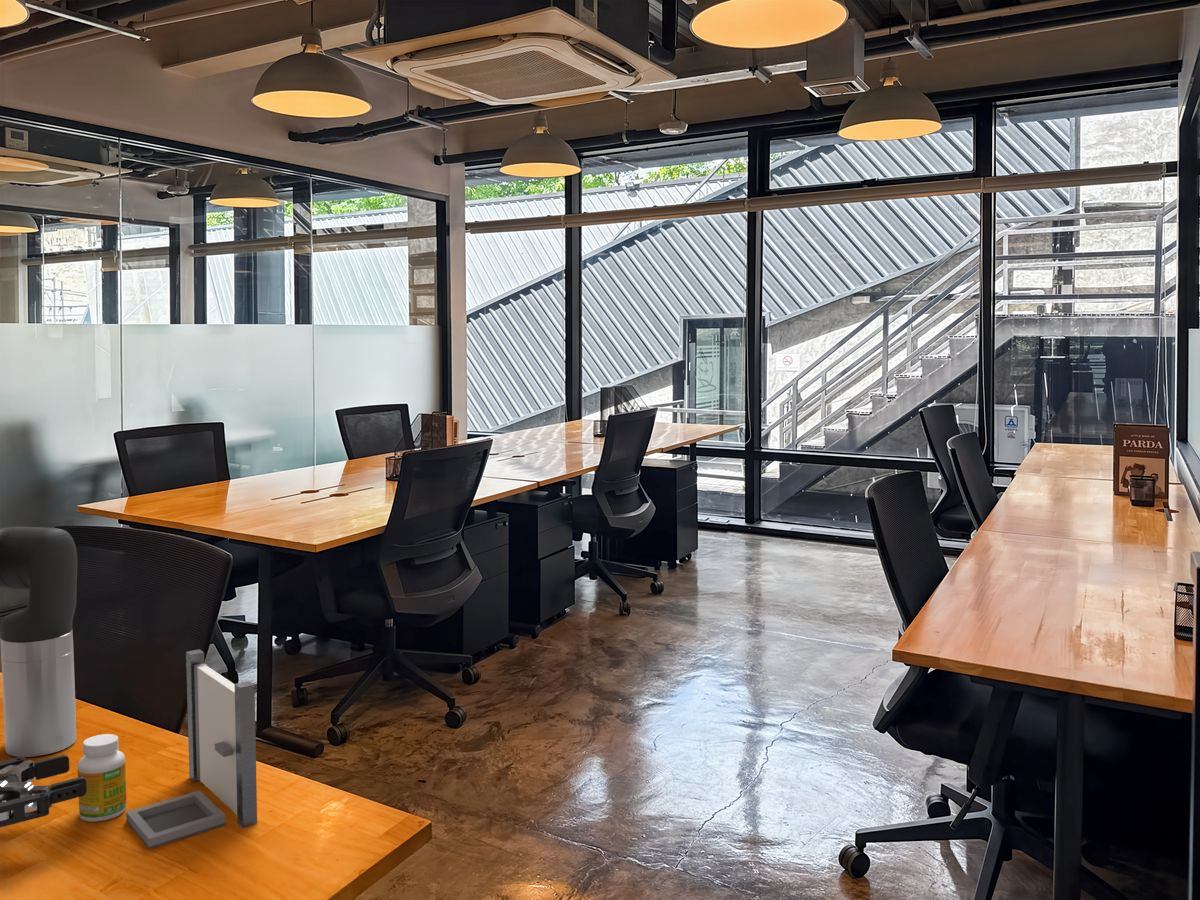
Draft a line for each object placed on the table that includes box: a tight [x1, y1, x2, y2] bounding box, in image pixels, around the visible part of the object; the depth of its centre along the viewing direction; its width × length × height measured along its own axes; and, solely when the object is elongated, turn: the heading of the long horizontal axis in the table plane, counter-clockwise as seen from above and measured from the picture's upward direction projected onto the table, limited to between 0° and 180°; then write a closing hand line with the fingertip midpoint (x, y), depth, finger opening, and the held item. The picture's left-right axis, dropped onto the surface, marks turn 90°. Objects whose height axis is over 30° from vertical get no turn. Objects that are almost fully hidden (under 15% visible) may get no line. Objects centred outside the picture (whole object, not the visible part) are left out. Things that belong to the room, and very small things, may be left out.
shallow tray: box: [125, 790, 226, 850], centre depth 116 cm, size 9×9×1 cm
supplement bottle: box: [77, 733, 127, 823], centre depth 119 cm, size 5×5×10 cm
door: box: [194, 663, 237, 815], centre depth 122 cm, size 15×3×16 cm, turn 43°
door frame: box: [185, 649, 258, 829], centre depth 122 cm, size 19×2×18 cm, turn 43°
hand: (76, 773), depth 117 cm, fingers open, 8 cm apart
